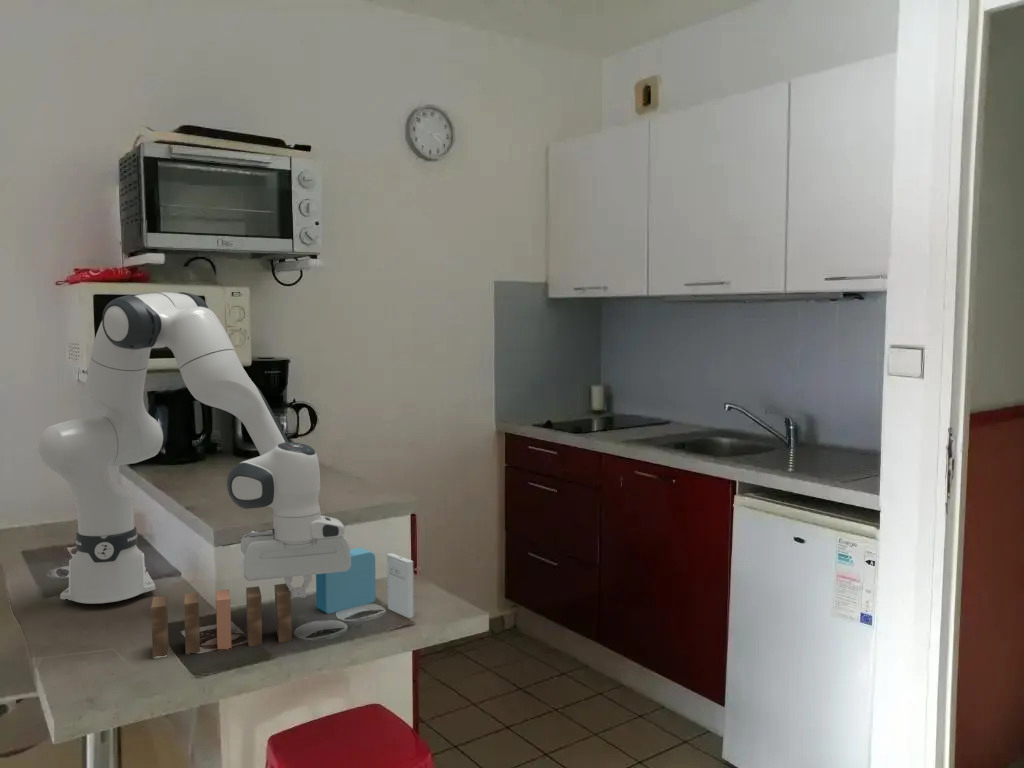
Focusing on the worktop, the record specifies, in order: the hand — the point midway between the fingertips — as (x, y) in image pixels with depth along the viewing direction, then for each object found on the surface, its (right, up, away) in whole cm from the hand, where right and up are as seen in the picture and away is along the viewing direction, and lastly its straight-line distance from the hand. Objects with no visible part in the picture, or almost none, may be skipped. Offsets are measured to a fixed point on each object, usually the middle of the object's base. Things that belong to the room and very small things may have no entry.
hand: (298, 597), depth 162 cm
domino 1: (-23, -8, -8) cm, 26 cm away
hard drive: (+18, -7, +12) cm, 23 cm away
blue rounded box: (+6, -7, +17) cm, 19 cm away
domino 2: (-18, -8, -6) cm, 21 cm away
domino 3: (-13, -8, -5) cm, 16 cm away
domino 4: (-8, -8, -3) cm, 11 cm away
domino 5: (-2, -8, -1) cm, 8 cm away
